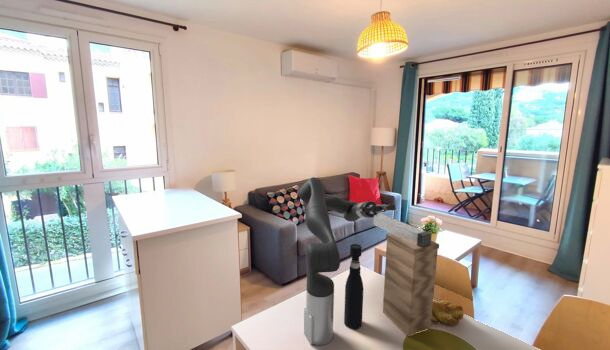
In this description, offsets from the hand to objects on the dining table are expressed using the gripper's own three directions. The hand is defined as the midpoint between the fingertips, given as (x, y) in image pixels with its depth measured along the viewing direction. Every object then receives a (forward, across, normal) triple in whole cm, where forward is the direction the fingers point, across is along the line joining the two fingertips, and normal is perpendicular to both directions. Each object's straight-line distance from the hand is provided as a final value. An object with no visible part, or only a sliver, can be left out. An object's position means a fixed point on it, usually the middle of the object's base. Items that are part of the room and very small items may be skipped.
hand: (385, 207), depth 119 cm
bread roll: (+10, +11, +43) cm, 46 cm away
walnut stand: (+7, -2, +42) cm, 43 cm away
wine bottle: (+3, -21, +41) cm, 46 cm away
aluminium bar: (+12, -4, +10) cm, 16 cm away
